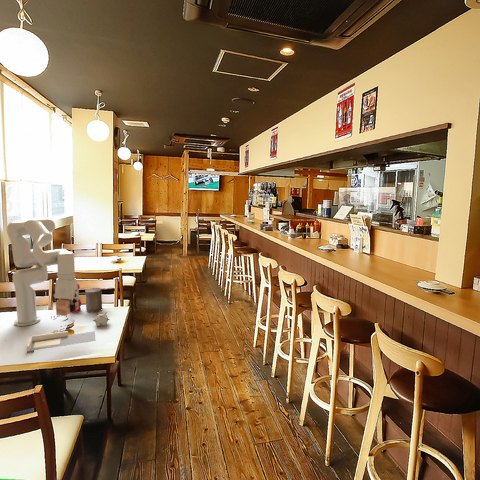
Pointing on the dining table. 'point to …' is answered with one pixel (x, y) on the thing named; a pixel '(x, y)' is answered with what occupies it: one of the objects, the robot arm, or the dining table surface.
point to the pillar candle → (93, 299)
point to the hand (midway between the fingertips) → (67, 310)
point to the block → (64, 307)
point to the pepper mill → (78, 301)
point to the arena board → (57, 340)
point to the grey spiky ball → (101, 319)
